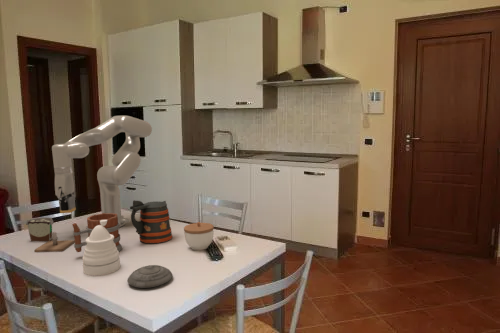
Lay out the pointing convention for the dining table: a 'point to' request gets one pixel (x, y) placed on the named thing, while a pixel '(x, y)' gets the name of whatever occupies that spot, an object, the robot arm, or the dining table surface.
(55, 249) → the pin board
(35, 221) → the food container
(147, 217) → the beer stein
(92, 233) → the honey pot
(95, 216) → the mug
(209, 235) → the lidded bowl
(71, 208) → the sleeve
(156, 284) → the flying saucer
